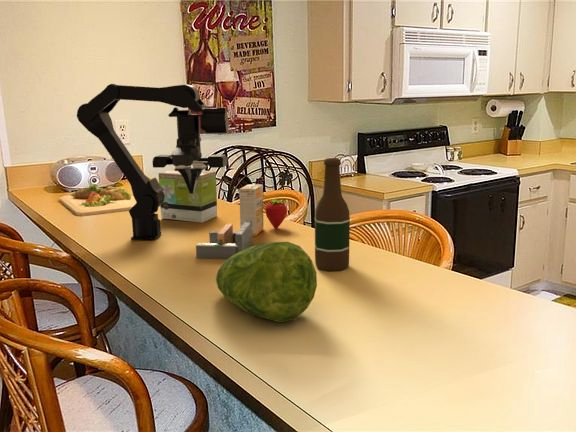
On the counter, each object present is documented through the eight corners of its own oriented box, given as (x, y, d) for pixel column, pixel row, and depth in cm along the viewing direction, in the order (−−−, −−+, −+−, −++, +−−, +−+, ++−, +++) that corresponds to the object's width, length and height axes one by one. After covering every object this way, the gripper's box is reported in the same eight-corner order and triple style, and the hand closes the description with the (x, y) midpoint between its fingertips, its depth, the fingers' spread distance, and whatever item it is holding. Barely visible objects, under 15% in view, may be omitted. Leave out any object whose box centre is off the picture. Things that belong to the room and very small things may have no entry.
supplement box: (257, 236, 148) (255, 188, 145) (240, 236, 149) (238, 188, 146) (264, 229, 156) (263, 183, 153) (248, 228, 157) (246, 183, 154)
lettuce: (252, 306, 111) (250, 241, 111) (331, 318, 93) (328, 240, 93) (190, 314, 102) (188, 243, 103) (262, 329, 84) (260, 243, 84)
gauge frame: (196, 258, 129) (195, 233, 128) (211, 242, 143) (210, 220, 141) (242, 259, 128) (241, 234, 127) (252, 243, 142) (252, 220, 140)
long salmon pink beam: (215, 257, 128) (214, 236, 127) (227, 242, 140) (226, 223, 139) (222, 257, 128) (221, 236, 127) (233, 243, 140) (232, 224, 139)
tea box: (160, 219, 170) (156, 172, 167) (178, 213, 179) (175, 168, 176) (202, 223, 164) (199, 174, 161) (218, 216, 173) (216, 170, 170)
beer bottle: (326, 274, 117) (326, 161, 111) (308, 264, 123) (307, 158, 118) (356, 268, 120) (358, 159, 115) (337, 259, 127) (338, 155, 122)
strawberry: (279, 224, 161) (278, 191, 159) (291, 230, 155) (291, 195, 153) (261, 227, 159) (260, 193, 156) (272, 232, 152) (272, 197, 150)
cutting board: (149, 209, 188) (148, 187, 186) (78, 218, 176) (76, 195, 174) (121, 194, 217) (119, 175, 215) (58, 201, 205) (56, 181, 203)
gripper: (142, 137, 135) (147, 199, 139) (216, 136, 133) (219, 199, 137) (158, 133, 146) (161, 191, 150) (226, 133, 144) (228, 191, 148)
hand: (191, 193), depth 146 cm, fingers closed
